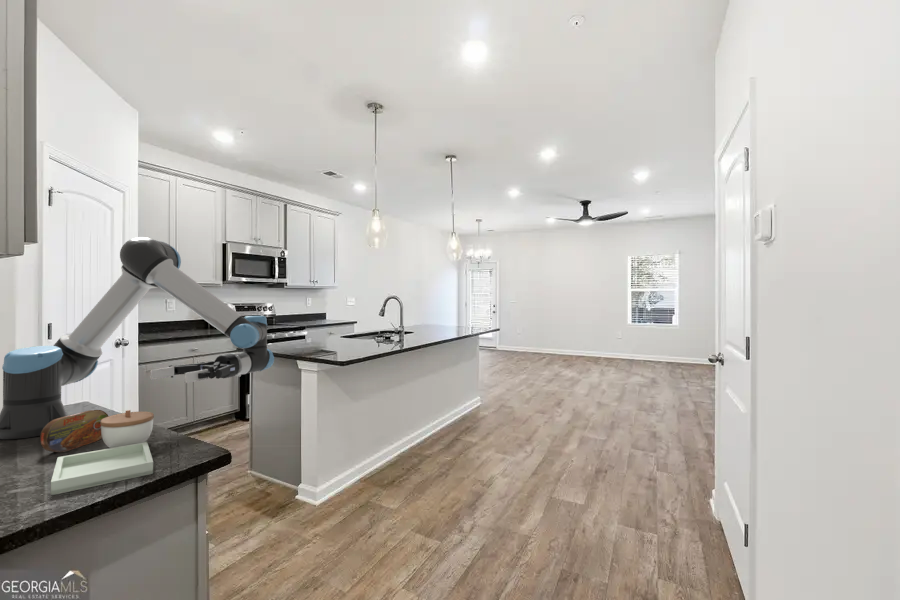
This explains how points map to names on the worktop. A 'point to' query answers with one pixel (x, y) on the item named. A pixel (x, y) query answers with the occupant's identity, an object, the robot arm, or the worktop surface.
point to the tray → (101, 467)
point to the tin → (72, 431)
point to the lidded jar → (126, 428)
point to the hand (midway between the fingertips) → (167, 376)
